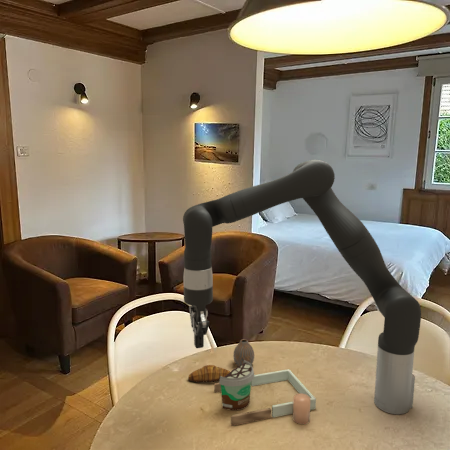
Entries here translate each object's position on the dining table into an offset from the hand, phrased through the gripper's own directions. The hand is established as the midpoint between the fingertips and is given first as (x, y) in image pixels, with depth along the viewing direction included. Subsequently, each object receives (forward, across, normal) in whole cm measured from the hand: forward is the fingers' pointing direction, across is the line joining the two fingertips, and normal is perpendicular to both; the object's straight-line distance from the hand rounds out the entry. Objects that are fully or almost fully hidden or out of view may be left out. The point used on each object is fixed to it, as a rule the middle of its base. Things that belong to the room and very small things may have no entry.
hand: (198, 346), depth 111 cm
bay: (+19, 0, -24) cm, 31 cm away
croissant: (+20, +15, -7) cm, 26 cm away
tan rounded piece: (+19, -11, -25) cm, 33 cm away
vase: (+19, +20, -20) cm, 34 cm away
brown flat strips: (+19, 0, -12) cm, 22 cm away
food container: (+19, 0, -12) cm, 23 cm away
